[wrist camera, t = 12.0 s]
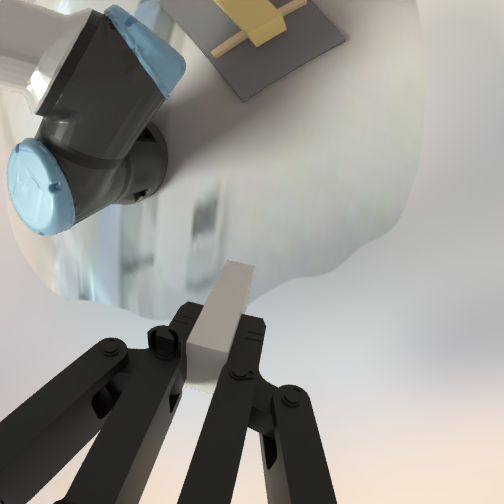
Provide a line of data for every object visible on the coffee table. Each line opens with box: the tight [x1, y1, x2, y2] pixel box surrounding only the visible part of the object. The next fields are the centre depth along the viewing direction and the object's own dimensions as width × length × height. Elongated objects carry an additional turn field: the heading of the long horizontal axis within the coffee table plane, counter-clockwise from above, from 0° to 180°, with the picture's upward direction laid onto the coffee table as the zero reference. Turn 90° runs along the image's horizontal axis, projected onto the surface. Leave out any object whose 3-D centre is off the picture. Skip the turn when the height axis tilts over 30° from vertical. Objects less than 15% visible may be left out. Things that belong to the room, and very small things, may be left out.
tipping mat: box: [158, 0, 345, 102], centre depth 31 cm, size 24×18×2 cm
